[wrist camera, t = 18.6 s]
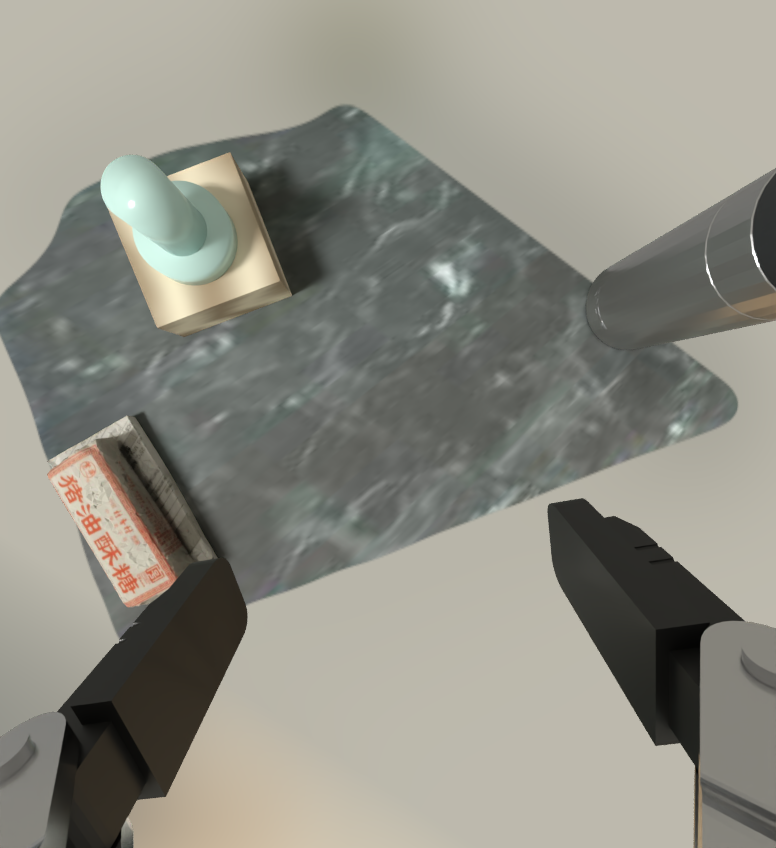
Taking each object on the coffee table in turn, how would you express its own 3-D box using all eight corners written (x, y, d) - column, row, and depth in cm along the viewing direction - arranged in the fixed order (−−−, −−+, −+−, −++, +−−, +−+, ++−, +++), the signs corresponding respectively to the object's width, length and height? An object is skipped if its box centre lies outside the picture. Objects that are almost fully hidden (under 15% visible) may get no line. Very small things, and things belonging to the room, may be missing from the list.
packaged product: (201, 580, 35) (111, 629, 35) (223, 558, 40) (144, 601, 40) (102, 415, 34) (10, 466, 34) (137, 413, 39) (56, 458, 39)
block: (250, 185, 37) (229, 152, 32) (293, 296, 38) (280, 281, 33) (141, 227, 37) (104, 200, 32) (186, 337, 38) (157, 327, 33)
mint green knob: (223, 184, 33) (174, 114, 25) (248, 273, 33) (207, 233, 25) (135, 205, 32) (57, 142, 24) (161, 294, 33) (94, 261, 25)
